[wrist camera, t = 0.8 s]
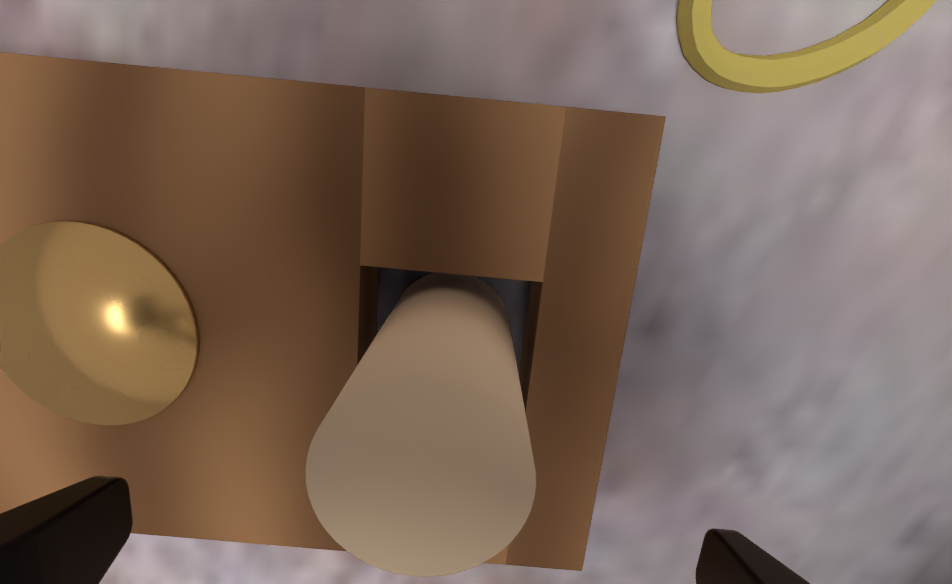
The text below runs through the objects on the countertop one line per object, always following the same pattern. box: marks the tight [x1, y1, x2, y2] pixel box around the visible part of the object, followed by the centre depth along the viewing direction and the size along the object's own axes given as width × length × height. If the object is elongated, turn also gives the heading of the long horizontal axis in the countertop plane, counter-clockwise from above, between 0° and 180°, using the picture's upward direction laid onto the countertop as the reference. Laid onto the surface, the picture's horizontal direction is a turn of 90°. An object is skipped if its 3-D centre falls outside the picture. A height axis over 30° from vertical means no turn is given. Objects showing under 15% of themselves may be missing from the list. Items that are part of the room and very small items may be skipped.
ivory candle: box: [306, 273, 536, 577], centre depth 12 cm, size 4×4×8 cm
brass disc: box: [0, 221, 200, 425], centre depth 13 cm, size 6×6×1 cm
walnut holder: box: [0, 52, 666, 571], centre depth 15 cm, size 20×14×2 cm
